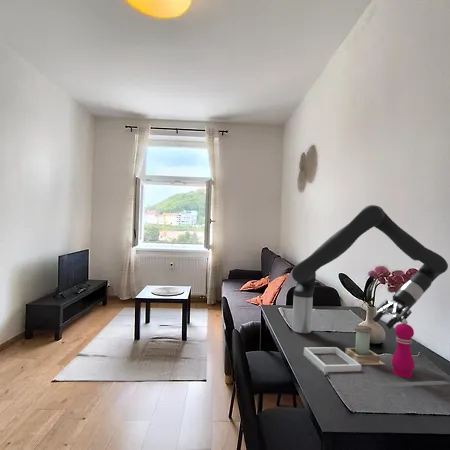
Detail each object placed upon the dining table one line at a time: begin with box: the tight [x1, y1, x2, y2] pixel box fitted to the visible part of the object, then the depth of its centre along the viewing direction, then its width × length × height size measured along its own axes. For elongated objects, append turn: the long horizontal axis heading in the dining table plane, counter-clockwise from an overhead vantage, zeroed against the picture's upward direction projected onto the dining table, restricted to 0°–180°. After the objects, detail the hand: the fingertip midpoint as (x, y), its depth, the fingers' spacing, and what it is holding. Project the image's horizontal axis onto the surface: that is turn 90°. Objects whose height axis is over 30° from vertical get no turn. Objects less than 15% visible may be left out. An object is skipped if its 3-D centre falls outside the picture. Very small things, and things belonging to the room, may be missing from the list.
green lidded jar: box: [354, 324, 373, 356], centre depth 134 cm, size 6×6×12 cm
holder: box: [344, 347, 385, 366], centre depth 134 cm, size 12×12×4 cm
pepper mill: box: [390, 319, 415, 378], centre depth 122 cm, size 7×7×20 cm
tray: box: [303, 346, 362, 376], centre depth 130 cm, size 18×14×3 cm
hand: (380, 323), depth 136 cm, fingers open, 8 cm apart
